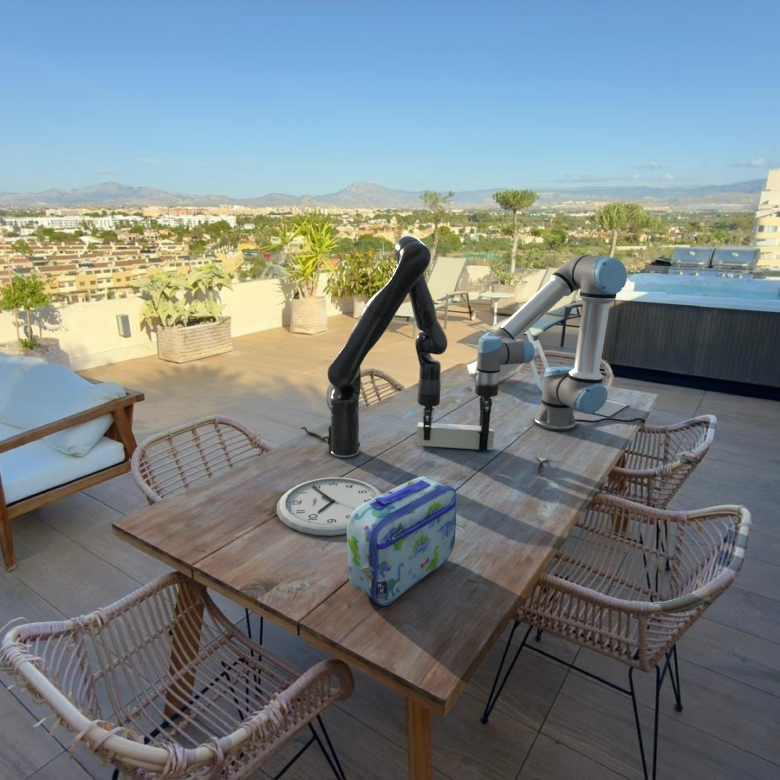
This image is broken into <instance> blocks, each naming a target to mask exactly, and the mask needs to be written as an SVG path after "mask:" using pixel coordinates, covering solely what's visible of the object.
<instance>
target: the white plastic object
mask: <svg viewBox="0 0 780 780" xmlns="http://www.w3.org/2000/svg"><path fill="white" fill-rule="evenodd" d="M525 333H526V336H527V339H528V341H530V342H531V343H532V344H533V346H534V349H535V353H534V357H535V356H537V355H540V359H541V362H542V364H543V367H544V371H545V370H546V369H547V368H549V367H550V366H549V363H548V360H547V357H546V355H545V352H544V348H543V346H542V344H541V342H540V339H536V340H534V338H533V335H532V332H531V329H530V328H529V329H528V330H527V331H526V332H525ZM484 335H485V334H483V335H482V336H481V337H483V336H484ZM516 341H518V339H517V340H516ZM529 364H530V367H531V371H532V374H533V377H534V379H535V384H536V386H537V388H538V389H539V391H541V393H542V392H543V383H542V381H541V378H540V375H539V371H538V369H537V366H536V362H535V358H533V360H532V361H531V362H529ZM520 365H522V364H508V365H500V375H499V379H502V378H505V377H507V376H509V375H510V374H509V373H511V372H512V371H514V370H515V369H517V368H518V367H519V366H520ZM466 366H467V367H466V368H467V370H468V375H469V376H470V377H471V379H472V380H476V376H475V375H474V374H475V373H477V360H475V361H474V362H472V363H469V364H467V365H466Z"/></svg>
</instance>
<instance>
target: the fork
mask: <svg viewBox="0 0 780 780" xmlns="http://www.w3.org/2000/svg"><path fill="white" fill-rule="evenodd" d="M547 458H548V451H546V450H544V449H542V451H541V449H540V450H539V454H538V460H539V461H540V463H539V464H538V474H541V472H542V469H543V467H544V465H543V464H544V463H543V462H544V461H546V460H547Z"/></svg>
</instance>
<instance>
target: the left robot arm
mask: <svg viewBox="0 0 780 780" xmlns="http://www.w3.org/2000/svg"><path fill="white" fill-rule="evenodd" d="M393 253H394V258H395V261H396V263H397V264H398V265H397V266H396V268H395V271H394V272H393V273H392V274H393V275H391V277H390V279H389V280H388V281H387V282H386V284H385V285H384V286H383V287H381V288H379V290H378V291H376V292H375V293H373V295H372V296H371V297H370V298H369V300H368V301H367V302H366V304H365V306H364V307H363V309H362V310H361V312H360V314H359V316H358V318H357V320H356V321H355V323H354V326H353V327H352V330H351V331H350V334H349V336H348V338H347V340H346V341H345V344H344V346H343V347H342V348H341V349H340V351H339V353H338V354H337V355H336V357H335V358H334V359H333V361H331V363H330V364H329V366H328V367H327V379H328V381H329V383H330V384H331V385H332V391H331V394H330V398H329V399H330V425H328V435H325V436H323V437H322V436H321V435H320V434H317V433H315V432H312V431H309V430H308V429H307V427H306V426H302V427H301V430H304V431H305V432H306V434H309V435H311V436H315V437H317V438H318V439H320V440H321V441H325V440H326V439H327V445H328V454H329V453H330V454H331V455H332V456H333V457H335V458H341V459H350V458H353V457H357V456H358V455H359V454H360V448H361V443H360V409H359V408H360V395H361V383H362V382H361V378H362V377H361V375H362V373H361V366H362V363H363V362H364V360H365V358H366V356H368V354H369V353H370V351H371V350H372V349H373V348H374V346H375V345H377V343H378V342H379V341H380V339H381V338H382V337H383V335H384V334H385V332H386V331H387V329H388V327H389V326H390V324H391V323H392V322H393V320H394V318H395V316H396V315H397V313H398V311H399V309H400V308H401V306H402V304H403V303H404V302H405V300H406V298H407V296H408V297H409V300H410V305H411V309H412V313H413V318H414V321H415V325H416V328H417V329H418V330H419V331H420V332H418V334H417V335H416V337H415V340H414V341H415V342H414V347H415V352H416V355H417V360H418V365H419V374H418V375H419V377H418V384H417V404H418V405H419V406H423V407H422V412H421V415H422V422H423V423H424V427H423V430H424V440H428V441H429V440H430V431H431V424H432V423H434V415H435V407H438V406H439V405H440V404H441V371H442V370H441V369H442V364H441V362H440V361H438V359H435V358H433V357H432V355H442V354H444V353H445V352H446V351H447V348H448V337H447V335H446V333H445V331H444V329H443V327H442V325H441V323H440V322H439V320H438V316H437V310H436V307H435V302H434V299H433V296H432V293H431V291H430V289H429V286H428V284H427V283H428V282H427V280H426V277H425V274H424V273H425V272H426V270H427V269H428V268H429V266H430V264H431V259H432V252H431V250H430V249H429V247H428V246H427V245H426V244H425V243H424V242H423V241H422V240H420V239H419V238H418V237H415V236H413V235H406V236H403V237H401V238H399V239H398V241H397V242H396V243H395V246H394V250H393ZM425 425H429V427H425Z"/></svg>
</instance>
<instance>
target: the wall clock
mask: <svg viewBox="0 0 780 780" xmlns="http://www.w3.org/2000/svg"><path fill="white" fill-rule="evenodd" d="M381 494H384V492H382V491H381V490H380V489H379V488H377V487H376V486H374V485H372V484H371V483H369V482H365V481H362V480H359V479H355V478H349V477H338V476H337V477H335V476H333V477H332V476H331V477H322V478H317V479H312V480H307V481H305V482H302V483H299V484H297V485H295V486H293V487H292V488H290V489H288V490H287V491H286V492H285V493H284V494H283V495H281V496H280V498H279V499H278V502H277V503H276V515H277V517H278V518H279V520H280V521H281V522H282V523H283V524H285V525H286V526H287V527H288V528H290V529H293V530H295V531H297V532H299V533H303V534H308V535H312V536H327V537H328V536H329V537H331V536H332V537H333V536H342V535H347V525H348V521H349V518H350V516H351V514H352V513H353V511H354V510H355V509H356V508H357V507H358V506H360V505H362V504H363V503H365V502H368V501H370V500H372V499H374V498H376V497H378V496H380V495H381Z"/></svg>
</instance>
